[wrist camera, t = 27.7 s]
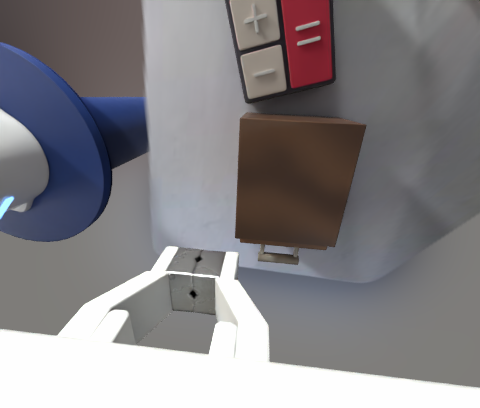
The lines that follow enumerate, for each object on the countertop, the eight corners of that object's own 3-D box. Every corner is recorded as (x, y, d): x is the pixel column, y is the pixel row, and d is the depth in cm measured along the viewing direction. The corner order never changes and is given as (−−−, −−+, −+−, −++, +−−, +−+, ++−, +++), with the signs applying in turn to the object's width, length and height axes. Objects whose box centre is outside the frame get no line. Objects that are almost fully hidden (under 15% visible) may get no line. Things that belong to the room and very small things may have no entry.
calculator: (245, 105, 29) (211, -62, 22) (247, 102, 33) (219, -41, 26) (338, 82, 27) (331, -107, 20) (328, 82, 31) (320, -77, 24)
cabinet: (318, 212, 38) (335, 247, 29) (241, 206, 39) (235, 238, 30) (338, 117, 32) (366, 124, 23) (246, 112, 33) (239, 118, 24)
